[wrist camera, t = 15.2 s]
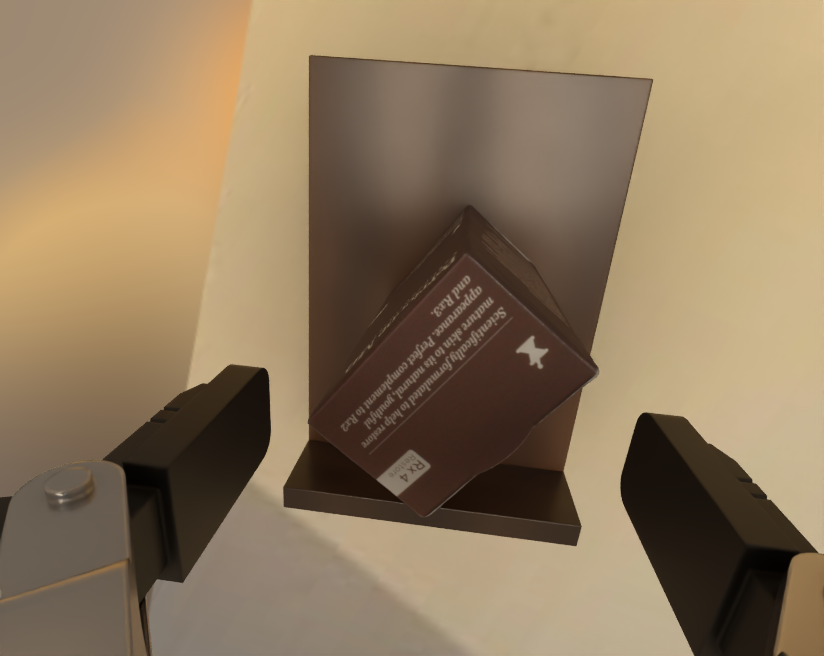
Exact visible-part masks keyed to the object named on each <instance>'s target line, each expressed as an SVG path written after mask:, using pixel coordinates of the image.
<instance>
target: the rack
mask: <svg viewBox="0 0 824 656" xmlns="http://www.w3.org/2000/svg"><path fill="white" fill-rule="evenodd" d="M652 83H653V79H647V78H632V77H618V76H604V75H589V74H575V73H560V72H546V71H531V70H517V69H503V68H488V67H474V66H459V65H445V64H430V63H416V62H402V61H387V60H373V59H358V58H344V57H329V56H315V55H310V56H309V417H310V415H311V414H312V412H313V411H314V409H315V408H316V407H317V405H318V404H319V403H320V401H321V400H322V398H323V397H324V395H325V394H326V392H327V391H328V389H329V387H330V386H331V384H332V383H333V382H334V380H335V378H336V377H337V375H338V374H339V372H340V371H341V369H342V367H343V366H344V364H345V363H346V361H347V360H348V358H349V357H350V355H351V354H352V352H353V351H354V349H355V348H356V346H357V345H358V343H359V342H360V340H361V338H362V337H363V335H364V333H365V332H366V330H367V328H368V327H369V326H370V324H371V322H372V321H373V319H374V318H375V316H376V314H377V313H378V311H379V310H380V308H381V306H382V305H383V303H384V302H385V300H386V299H387V297H388V296H389V294H390V293H391V292H392V291H393V290H394V289H395V288H396V287H397V286H398V285H399V284H400V283H401V282H402V280H403V279H404V278H405V277H406V276H407V275H408V274H409V273H410V272H411V271H412V270H413V269H414V268H415V267H416V265H417V264H418V263H419V262H420V261H421V260H422V259H423V258H424V256H425V255H426V254H427V253H428V252H429V250H430V249H431V248H432V247H433V246H434V245H435V244H436V242H437V241H438V240H439V239H440V238H441V237H442V236H443V234H444V233H445V232H446V231H447V230H448V229H449V228H450V226H451V225H452V224H453V223H454V222H455V220H456V219H457V218H458V217H459V216H460V215H461V213H462V212H463V211H464V210H465V209H466V207H467V206H469V205H472V206H473V207H474V208H475V209H476V210H477V211H478V212H479V213H480V214H481V215H482V216H483V217H484V218H485V219H486V220H487V221H488V222H490V223H491V224H492V225H493V226H494V227H495V228H496V229H497V230H498V231H499V232H500V233H501V234H502V235H504V236H505V237H506V238H507V239H508V240H509V241H510V242H511V243H512V244H513V245H514V246H515V247H516V248H517V249H518V250H520V251H521V252H522V253H524V255H525V256H526V257H527V258H528V259H529V260H530V261H531V262H532V264H534V265H535V267H536V269H537V271H538V272H539V274H540V275H541V277H542V279H543V280H544V282H545V283H546V285H547V286H548V288H549V290H550V292H551V293H552V295H553V296H554V298H555V300H556V302H557V303H558V305H559V306H560V308H561V310H562V312H563V313H564V314H565V317H566V318H567V320H568V322H569V323H570V325H571V326H572V328H573V330H574V331H575V333H576V335H577V336H578V338H579V339H580V340H581V342H582V344H583V346H584V347H585V349H586V350H587V351H588V353H589V354H590V353H591V349H592V344H593V340H594V336H595V331H596V327H597V323H598V318H599V314H600V309H601V305H602V301H603V296H604V292H605V288H606V283H607V279H608V275H609V270H610V266H611V262H612V257H613V253H614V248H615V244H616V240H617V235H618V231H619V227H620V222H621V218H622V214H623V209H624V205H625V201H626V196H627V192H628V187H629V183H630V179H631V174H632V170H633V166H634V161H635V157H636V153H637V148H638V144H639V140H640V135H641V131H642V126H643V122H644V118H645V113H646V109H647V105H648V100H649V96H650V92H651V87H652ZM581 392H582V388H581V389H580V390H579V391H578V392H577V393H576V394H574V395H573V396H572V397H571V398H569V399H568V400H567V401H566V402H565V403H563V404H562V405H561V406H560V407H558V408H557V409H556V410H555V411H554V412H552V413H551V414H550V415H549V416H547V417H546V418H545V419H544V420H543V421H542V422H540V423H539V424H538V425H537V426H536V427H534V428H533V429H532V430H531V432H530V434H529V435H528V436H527V438H526V439H525V440H524V442H523V443H522V444H521V445H520V446H519V447H518V448H517V449H516V450H515V451H514V452H513V453H512V454H511V455H510V456H509V457H507V458H506V459H504V460H503V461H502V462H500V463H499V464H498V465H496V466H494V467H493V468H491V469H489V470H487V471H484V472H482V473H480V474H478V475H477V476H476V477H474V478H473V479H472V480H471V481H469V482H468V483H467V484H466V485H465V486H464V487H463V488H462V489H460V490H459V491H458V492H457V493H456V494H455V495H454V496H452V497H451V498H450V499H449V500H447V501H446V502H445V503H444V504H443V505H441V506H440V507H439V508H438V509H437V510H436V511H435V512H434V513H432V514H431V515H429V516H427V517H420V516H419V515H418V514H417V513H415V512H414V511H413V510H412V509H411V508H410V507H408V506H407V505H406V504H405V503H404V502H403V501H401V500H400V499H399V498H398V497H397V496H395V495H394V494H393V493H392V492H391V491H389V490H388V489H387V488H386V487H385V486H383V485H382V484H381V483H380V482H378V481H377V480H376V479H375V478H373V477H372V476H371V475H370V474H368V473H367V472H366V471H365V470H363V469H362V468H361V467H360V466H358V465H357V464H356V463H355V462H353V461H352V460H351V459H350V458H348V457H347V456H346V455H345V454H343V453H342V452H341V451H340V450H339V449H338V448H336V447H335V446H333V445H332V444H331V443H330V442H329V441H328V440H327V439H325V438H324V437H323V436H322V435H321V434H320V433H318V432H317V431H316V430H315V429H314V428H312V427H311V426H310V425H309V441H308V443H307V444H306V446H305V448H304V450H303V452H302V454H301V456H300V457H299V459H298V461H297V463H296V465H295V467H294V468H293V470H292V472H291V474H290V476H289V478H288V480H287V481H286V483H285V485H284V487H283V493H284V507H288V508H295V509H303V510H310V511H318V512H325V513H333V514H340V515H348V516H355V517H363V518H370V519H377V520H385V521H392V522H400V523H407V524H415V525H422V526H430V527H437V528H445V529H452V530H459V531H467V532H474V533H482V534H489V535H497V536H504V537H512V538H519V539H527V540H534V541H541V542H549V543H556V544H564V545H571V546H577V542H578V538H579V534H580V530H581V527H582V526H581V523H580V520H579V517H578V514H577V511H576V508H575V505H574V502H573V499H572V496H571V493H570V490H569V487H568V484H567V481H566V478H565V475H564V472H563V471H564V466H565V462H566V458H567V453H568V449H569V445H570V440H571V436H572V431H573V427H574V423H575V418H576V414H577V410H578V405H579V401H580V397H581Z"/></svg>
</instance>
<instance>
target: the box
mask: <svg viewBox="0 0 824 656" xmlns="http://www.w3.org/2000/svg"><path fill="white" fill-rule="evenodd" d="M598 374H599V368H598V367H597V365H596V364H595V363H594V361H593V359H592V358H591V356H590V354H589V353H588V351H587V350H586V349H585V347H584V346H583V344H582V342H581V340H580V339H579V338H578V336H577V335H576V333H575V331H574V330H573V328H572V326H571V325H570V323H569V322H568V320H567V318H566V317H565V314H564V313H563V312H562V310H561V308H560V306H559V305H558V303H557V302H556V300H555V298H554V296H553V295H552V293H551V292H550V290H549V288H548V286H547V285H546V283H545V282H544V280H543V279H542V277H541V275H540V274H539V272H538V271H537V269H536V267H535V265H534V264H532V262H531V261H530V260H529V259H528V258H527V257H526V256H525V255H524V253H522V252H521V251H520V250H518V249H517V248H516V247H515V246H514V245H513V244H512V243H511V242H510V241H509V240H508V239H507V238H506V237H505V236H504V235H502V234H501V233H500V232H499V231H498V230H497V229H496V228H495V227H494V226H493V225H492V224H491V223H490V222H488V221H487V220H486V219H485V218H484V217H483V216H482V215H481V214H480V213H479V212H478V211H477V210H476V209H475V208H474V207H473V206H472V205H469V206H467V207H466V209H465V210H464V211H463V212H462V213H461V215H460V216H459V217H458V218H457V219H456V220H455V222H454V223H453V224H452V225H451V226H450V228H449V229H448V230H447V231H446V232H445V233H444V234H443V236H442V237H441V238H440V239H439V240H438V241H437V242H436V244H435V245H434V246H433V247H432V248H431V249H430V250H429V252H428V253H427V254H426V255H425V256H424V258H423V259H422V260H421V261H420V262H419V263H418V264H417V265H416V267H415V268H414V269H413V270H412V271H411V272H410V273H409V274H408V275H407V276H406V277H405V278H404V279H403V280H402V282H401V283H400V284H399V285H398V286H397V287H396V288H395V289H394V290H393V291H392V292H391V293H390V294H389V296H388V297H387V299H386V300H385V302H384V303H383V305H382V306H381V308H380V310H379V311H378V313H377V314H376V316H375V318H374V319H373V321H372V322H371V324H370V326H369V327H368V328H367V330H366V332H365V333H364V335H363V337H362V338H361V340H360V342H359V343H358V345H357V346H356V348H355V349H354V351H353V352H352V354H351V355H350V357H349V358H348V360H347V361H346V363H345V364H344V366H343V367H342V369H341V371H340V372H339V374H338V375H337V377H336V378H335V380H334V382H333V383H332V384H331V386H330V387H329V389H328V391H327V392H326V394H325V395H324V397H323V398H322V400H321V401H320V403H319V404H318V405H317V407H316V408H315V409H314V411H313V412H312V414H311V415H310V417H309V419H308V424H309V425H310V426H311V427H312V428H314V429H315V430H316V431H317V432H318V433H320V434H321V435H322V436H323V437H324V438H325V439H327V440H328V441H329V442H330V443H331V444H332V445H333V446H335V447H336V448H338V449H339V450H340V451H341V452H342V453H343V454H345V455H346V456H347V457H348V458H350V459H351V460H352V461H353V462H355V463H356V464H357V465H358V466H360V467H361V468H362V469H363V470H365V471H366V472H367V473H368V474H370V475H371V476H372V477H373V478H375V479H376V480H377V481H378V482H380V483H381V484H382V485H383V486H385V487H386V488H387V489H388V490H389V491H391V492H392V493H393V494H394V495H395V496H397V497H398V498H399V499H400V500H401V501H403V502H404V503H405V504H406V505H407V506H408V507H410V508H411V509H412V510H413V511H414V512H415V513H417V514H418V515H419V516H420V517H427V516H429V515H431V514H432V513H434V512H435V511H436V510H437V509H438V508H439V507H440V506H441V505H443V504H444V503H445V502H446V501H447V500H449V499H450V498H451V497H452V496H454V495H455V494H456V493H457V492H458V491H459V490H460V489H462V488H463V487H464V486H465V485H466V484H467V483H468V482H469V481H471V480H472V479H473V478H474V477H476V476H477V475H478V474H480V473H482V472H484V471H487V470H489V469H491V468H493V467H494V466H496V465H498V464H499V463H500V462H502V461H503V460H504V459H506V458H507V457H509V456H510V455H511V454H512V453H513V452H514V451H515V450H516V449H517V448H518V447H519V446H520V445H521V444H522V443H523V442H524V440H525V439H526V438H527V436H528V435H529V434H530V432H531V430H532V429H533V428H534V427H536V426H537V425H538V424H539V423H540V422H542V421H543V420H544V419H545V418H546V417H547V416H549V415H550V414H551V413H552V412H554V411H555V410H556V409H557V408H558V407H560V406H561V405H562V404H563V403H565V402H566V401H567V400H568V399H569V398H571V397H572V396H573V395H574V394H576V393H577V392H578V391H579V390H580V389H581V388H583V387H584V386H585V385H586V384H588V383H589V382H590V381H592V380H593V379H594V378H596V377H597V375H598Z"/></svg>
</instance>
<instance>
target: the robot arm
mask: <svg viewBox="0 0 824 656" xmlns="http://www.w3.org/2000/svg"><path fill="white" fill-rule="evenodd" d="M270 435H271V420H270V391H269V375H268V372H267V370H266V369H265V368H259V367H250V366H242V365H233V364H231V365H229V366H227V367H226V368H225V369H224V370H223V371H222V372H221V373H219V374H218V375H217V376H216V377H215V378H214V379H213V380H212V381H211V382H209V383H208V384H204V383H202V384H200V385H198V386H196V387H194V388H191V389H189V390H187V391H185V392H183V393H180V394H179V395H178V396H177V397H176V398H174V399H173V400H172V401H171V402H170V403H168V404H167V405H166V406H165V407H164V410H160V411H159V412H158V413H157V414H156V415H154V416H153V417H152V418H151V420H150V422H146V423H145V424H144V425H143V426H141V427H140V428H139V429H138V430H137V431H135V432H134V433H133V434H132V435H131V436H130V437H128V438H127V439H126V440H125V441H124V442H123V443H121V444H120V445H119V446H118V447H117V448H116V449H114V450H113V451H112V452H111V453H110V454H109V455H107V456H106V457H105V458H104V459H103V460H85V461H78V462H73V463H69V464H65V465H62V466H59V467H56V468H53V469H51V470H48V471H46V472H44V473H42V474H40V475H38V476H36V477H34V478H33V479H31V480H30V481H28V482H27V483H26V484H25V485H23V486H22V487H21V488H20V489H19V490H18V491H17V492H16V493H15V494H14V496H11V497H1V498H0V656H153V655H152V645H151V635H150V625H149V615H148V605H147V599H146V594H147V592H148V591H149V590H150V588H151V587H152V585H153V584H154V583H155V581H156V580H157V579H160V580H167V581H174V582H180V583H183V582H184V580H185V579H186V577H187V576H188V574H189V573H190V571H191V569H192V568H193V566H194V565H195V563H196V562H197V560H198V559H199V557H200V556H201V554H202V553H203V551H204V549H205V548H206V546H207V545H208V543H209V542H210V540H211V539H212V537H213V536H214V534H215V532H216V531H217V529H218V528H219V526H220V525H221V523H222V522H223V520H224V519H225V517H226V516H227V514H228V512H229V511H230V509H231V508H232V506H233V505H234V503H235V502H236V500H237V499H238V497H239V496H240V494H241V492H242V491H243V489H244V488H245V486H246V485H247V483H248V482H249V480H250V479H251V477H252V476H253V474H254V472H255V471H256V469H257V468H258V466H259V465H260V463H261V462H262V460H263V458H264V457H265V455H266V452H267V449H268V446H269V442H270ZM620 488H621V497H622V501H623V504H624V507H625V509H626V511H627V513H628V515H629V517H630V520H631V522H632V524H633V526H634V528H635V530H636V532H637V535H638V537H639V539H640V541H641V543H642V545H643V547H644V549H645V552H646V554H647V556H648V558H649V560H650V562H651V564H652V566H653V569H654V571H655V573H656V575H657V577H658V579H659V581H660V584H661V586H662V588H663V590H664V592H665V594H666V596H667V598H668V601H669V603H670V605H671V607H672V609H673V611H674V613H675V615H676V618H677V620H678V622H679V624H680V626H681V628H682V630H683V633H684V635H685V637H686V639H687V641H688V643H689V645H690V647H691V650H692V652H693V654H694V656H824V554H819V553H818V552H817V551H816V550H815V548H814V547H813V546H812V545H811V544H810V543H809V542H808V541H807V540H806V538H805V537H804V536H803V535H802V534H801V533H800V532H799V531H798V530H797V528H796V527H795V526H794V525H793V524H792V523H791V522H790V521H789V520H788V519H787V517H786V516H785V515H784V514H783V513H782V512H781V511H780V510H779V509H778V507H777V506H776V505H775V504H774V503H773V502H772V501H771V500H767V495H766V494H765V493H764V492H763V491H762V490H761V489H760V488H759V486H758V485H757V484H755V483H752V479H751V478H750V477H749V475H748V474H747V473H746V472H745V471H744V470H743V469H742V468H741V467H740V465H739V464H738V463H737V462H736V461H735V460H733V459H732V458H730V457H729V456H727V455H726V454H725V453H723V452H722V451H720V450H719V449H717V448H716V447H714V446H713V445H711V444H707V442H706V441H705V440H704V439H703V438H702V437H701V435H700V434H699V433H698V432H697V431H696V430H695V429H694V427H693V426H692V425H691V424H690V423H689V422H688V420H687V419H686V418H684V417H681V416H672V415H663V414H654V413H642V414H641V415H640V416H639V418H638V420H637V423H636V426H635V429H634V433H633V436H632V440H631V443H630V447H629V450H628V454H627V457H626V461H625V464H624V468H623V471H622V475H621V487H620Z"/></svg>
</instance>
